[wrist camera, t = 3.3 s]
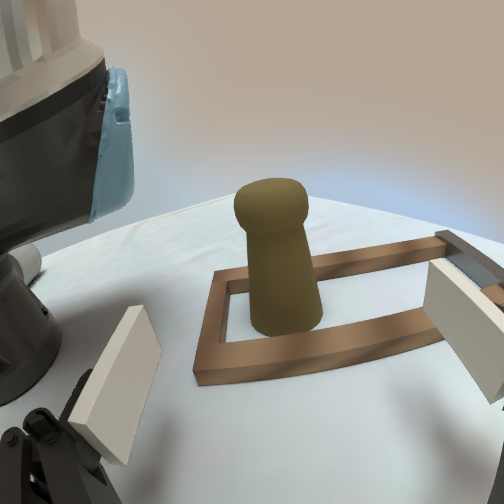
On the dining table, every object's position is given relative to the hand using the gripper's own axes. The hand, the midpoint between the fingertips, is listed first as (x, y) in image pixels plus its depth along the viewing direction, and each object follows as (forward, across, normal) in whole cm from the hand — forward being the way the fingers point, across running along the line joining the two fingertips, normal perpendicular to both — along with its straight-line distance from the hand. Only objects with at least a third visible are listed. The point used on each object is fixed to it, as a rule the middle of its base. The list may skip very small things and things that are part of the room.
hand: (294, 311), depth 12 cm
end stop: (+10, +20, -7) cm, 23 cm away
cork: (+10, 0, -7) cm, 12 cm away
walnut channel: (+10, +6, -7) cm, 13 cm away
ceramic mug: (+24, -45, -7) cm, 52 cm away
